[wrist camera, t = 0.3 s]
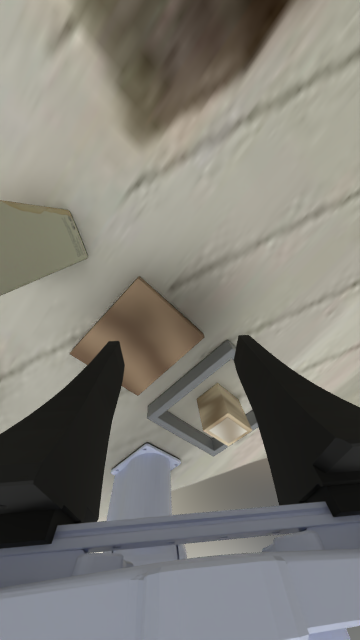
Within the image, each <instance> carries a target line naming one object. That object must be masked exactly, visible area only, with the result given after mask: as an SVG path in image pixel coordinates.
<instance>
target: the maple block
mask: <svg viewBox="0 0 360 640" xmlns="http://www.w3.org/2000/svg"><path fill="white" fill-rule="evenodd" d="M197 403H198V408H199V413H200V417H201V422H202V427H203V431H204V432H206V433H208V434H209V435H211V436H212V437H214V438H216V439H217V440H219V441H220V442H222V443H224V444H225V445H227V446H230V445H231V444H233V443H234V442H236V441H237V440H239V439H240V438H242V437H243V436H245V435H246V434H248V433H249V432H251V431H252V428H251V426H250V424H249V422H248V420H247V417H246V415H245V413H244V411H243V408H242V406H241V404H240V402H239V400H238V399H237V398H236V397H234V396H233V395H232V394H231V393H229V392H228V391H227V390H226V389H224V388H223V387H222V386H220V385H219V384H218V383H217V384H215V385H214V386H213V387H212V388H210V389H209V390H208V391H206V392H205V393H204V394H203V395H201V396H200V397H199V398H197Z"/></svg>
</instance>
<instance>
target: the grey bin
mask: <svg viewBox="0 0 360 640" xmlns="http://www.w3.org/2000/svg"><path fill="white" fill-rule="evenodd" d="M235 351H236V347H235V346H234V345H233V344H232V343H231V342H230V341H229V340H226V341H225V342H224V343H223V344H222V345H221V346H219V347H218V348H217V349H216V350H215V351H213V352H212V353H211V354H210V355H209V356H207V357H206V358H205V359H204V360H203V361H201V362H200V363H199V364H198V365H197V366H195V367H194V368H193V369H192V370H191V371H190V372H188V373H187V374H186V375H185V376H184V377H182V378H181V379H180V380H179V381H178V382H176V383H175V384H174V385H173V386H172V387H170V388H169V389H168V390H167V391H166V392H164V393H163V394H162V395H161V396H160V397H158V398H157V399H156V400H155V401H154V402H153V403H151V404H150V405H149V406H148V413H147V419H149V420H151V421H152V422H154V423H156V424H158V425H159V426H161V427H163V428H165V429H166V430H168V431H170V432H172V433H173V434H175V435H177V436H179V437H180V438H182V439H184V440H186V441H187V442H189V443H191V444H193V445H194V446H196V447H198V448H200V449H201V450H203V451H205V452H207V453H208V454H210V455H212V456H215V455H217V454H218V453H220V452H221V451H223V450H224V449H226V448H227V447H229V446H227V445H225V444H224V443H222V442H220V441H219V440H217V439H216V438H214V437H213V438H212V439H211V438H210V437H208V436H206V435H205V434H203V433H201V432H200V431H198V430H197V429H195V428H193V427H192V426H190V425H188V424H187V423H185V422H184V421H182V420H180V419H179V418H177V417H176V416H174V415H172V414H171V413H169V412H167V410H168V409H169V408H170V407H172V406H173V405H174V404H175V403H177V402H178V401H179V400H180V399H182V398H183V397H184V396H185V395H187V394H188V393H189V392H190V391H192V390H193V389H194V388H195V387H196V386H198V385H199V384H200V383H201V382H203V381H204V380H205V379H206V378H208V377H209V376H210V375H211V374H213V373H214V372H215V371H216V370H218V369H219V368H220V367H221V366H223V365H224V364H225V363H226V362H228V361H229V360H230V359H231V358H232V359H233V360H234V356H235ZM246 417H247V420H248V422H249V424H250V426H251V428H252V431H253V430H255V429H256V428H258V424H257V421H256V417H255V415H254V412H253V410H252V411H251V412H249V413H248V414H246ZM252 431H251V432H252ZM249 433H250V432H249ZM249 433H248V434H249ZM246 435H247V434H246ZM246 435H245V436H246ZM243 437H244V436H243ZM243 437H242V438H243ZM240 439H241V438H240ZM237 441H238V440H237ZM234 443H235V442H234ZM231 445H232V444H231Z"/></svg>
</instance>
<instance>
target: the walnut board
mask: <svg viewBox="0 0 360 640" xmlns="http://www.w3.org/2000/svg"><path fill="white" fill-rule="evenodd" d="M203 338H204V334H203V333H202V332H201V331H200V330H199V329H198V328H197V327H196V326H194V325H193V324H192V323H191V322H190V321H189V320H188V319H187V318H185V317H184V316H183V315H182V314H181V313H180V312H179V311H178V310H177V309H175V308H174V307H173V306H172V305H171V304H170V303H169V302H168V301H166V300H165V299H164V298H163V297H162V296H161V295H160V294H159V293H158V292H156V291H155V290H154V289H153V288H152V287H151V286H150V285H149V284H147V283H146V282H145V281H144V280H143V279H142V278H141V277H140V276H139V277H138V278H137V279H136V280H135V281H134V282H133V283H132V285H131V286H130V287H129V288H128V289H127V290H126V291H125V292H124V293H123V294H122V296H121V297H120V298H119V299H118V300H117V301H116V302H115V303H114V304H113V305H112V307H111V308H110V309H109V310H108V311H107V312H106V313H105V314H104V315H103V316H102V318H101V319H100V320H99V321H98V322H97V323H96V324H95V325H94V326H93V327H92V329H91V330H90V331H89V332H88V333H87V334H86V335H85V336H84V337H83V338H82V340H81V341H80V342H79V343H78V344H77V345H76V346H75V347H74V348H73V350H72V351H71V352H70V355H72V356H74V357H75V358H77V359H79V360H80V361H82V362H84V363H85V364H87V365H88V364H89V363H90V362H91V361H92V360H93V359H94V358H95V356H96V355H97V354H98V353H99V352H100V351H101V350H102V348H103V347H104V346H105V345H106V344H107V343H108V342H109V341H119V342H120V346H121V351H122V355H123V359H124V364H125V368H124V376H123V382H122V386H123V387H124V388H126V389H128V390H129V391H131V392H133V393H134V394H136V395H137V396H138V395H139V394H140V393H142V392H143V391H144V390H145V389H146V388H147V387H148V386H150V385H151V384H152V383H153V382H154V381H155V380H156V379H158V378H159V377H160V376H161V375H162V374H163V373H164V372H166V371H167V370H168V369H169V368H170V367H171V366H172V365H174V364H175V363H176V362H177V361H178V360H179V359H180V358H182V357H183V356H184V355H185V354H186V353H187V352H188V351H190V350H191V349H192V348H193V347H194V346H195V345H196V344H198V343H199V342H200V341H201V340H202V339H203Z"/></svg>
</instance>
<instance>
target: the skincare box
mask: <svg viewBox="0 0 360 640" xmlns="http://www.w3.org/2000/svg"><path fill="white" fill-rule="evenodd" d="M87 258H88V256H87V253H86V251H85V248H84V245H83V243H82V240H81V238H80V235H79V233H78V230H77V228H76V225H75V223H74V221H73V218H72V216H71V214H70V212H69V211H68V210H64V209H57V208H50V207H43V206H36V205H29V204H22V203H16V202H9V201H2V200H0V296H1V295H3V294H6V293H8V292H10V291H13V290H15V289H17V288H19V287H22V286H24V285H27V284H29V283H31V282H33V281H36V280H38V279H40V278H43V277H45V276H47V275H50V274H52V273H54V272H56V271H59V270H61V269H64V268H66V267H68V266H71V265H73V264H75V263H77V262H80V261H82V260H84V259H87Z"/></svg>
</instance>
